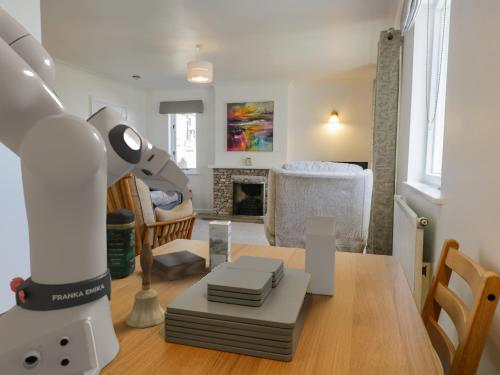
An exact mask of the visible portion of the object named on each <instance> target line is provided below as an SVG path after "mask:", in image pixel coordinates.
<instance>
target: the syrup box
mask: <svg viewBox="0 0 500 375" xmlns="http://www.w3.org/2000/svg"><path fill="white" fill-rule="evenodd" d="M208 227H209V228H208V231H209V232H208V238H209V239H208V240H209V241H208V242H209V243H208V244H209V246H208V248H209V249H208V253H209V254H208V257H209V258H208V259H209V261H208V262H209V264H208V268H209V269H208V270H210V271H209V272H212V271H211V270H212V269H214V268H215V267H217V266H218V265H220V264H221V263H224V262H231V261H232V260H231V256H232V255H231V250H232V249H231V248H232V246H231V245H232V244H231V240H232V234H231V233H232V222H231V220H211V221H210V222H209V224H208ZM231 263H232V262H231Z"/></svg>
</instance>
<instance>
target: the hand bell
mask: <svg viewBox="0 0 500 375" xmlns="http://www.w3.org/2000/svg"><path fill="white" fill-rule="evenodd" d="M153 256H154V252H153V250H152V247H151V244H150V241H143V242H142V246H141V248H140V253H139V265H140V268H141V272H142V281H141V283H142V284H141V290H139V291H137V292H136V293H135V295H134V302H133V307H132V309H131V312H130V313H129V314H127V316H126V318H125V323H126V325H127V326H129V327H132V328H140V329H141V328H142V329H143V328H151V327H154V326H158V325H160V324H162V323H164V322H165V321H164V313H165V311H166V310H164V309H163V307H162V306H161V303H160V300H159V295H158V292H157V291H156V290H155V289H152V288H151V284H152V282H151V272H152V271H151V267H152V263H153Z"/></svg>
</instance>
